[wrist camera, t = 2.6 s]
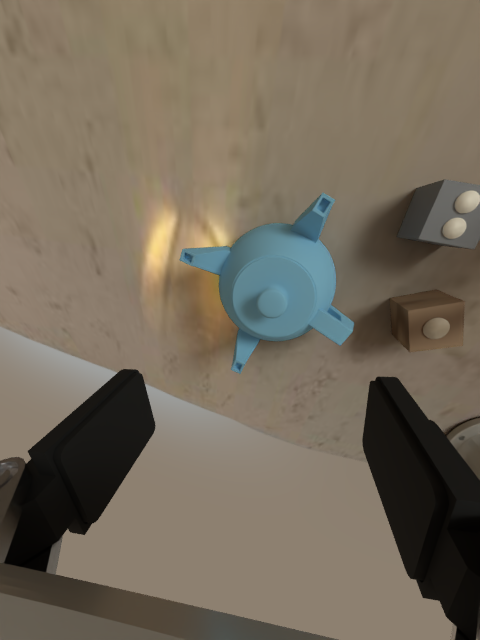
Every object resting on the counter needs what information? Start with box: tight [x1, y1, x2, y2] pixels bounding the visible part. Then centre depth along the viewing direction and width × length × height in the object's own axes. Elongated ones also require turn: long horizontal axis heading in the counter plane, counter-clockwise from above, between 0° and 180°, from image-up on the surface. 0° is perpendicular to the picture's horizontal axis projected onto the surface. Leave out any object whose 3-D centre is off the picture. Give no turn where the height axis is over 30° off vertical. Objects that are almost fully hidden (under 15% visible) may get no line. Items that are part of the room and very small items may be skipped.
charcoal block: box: [397, 180, 480, 249], centre depth 24 cm, size 5×5×5 cm
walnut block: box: [390, 290, 465, 352], centre depth 28 cm, size 5×5×5 cm
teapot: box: [180, 193, 354, 374], centre depth 27 cm, size 15×15×11 cm
